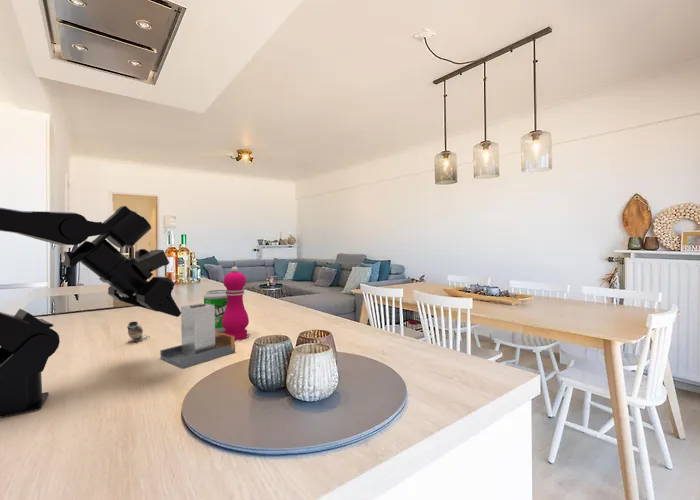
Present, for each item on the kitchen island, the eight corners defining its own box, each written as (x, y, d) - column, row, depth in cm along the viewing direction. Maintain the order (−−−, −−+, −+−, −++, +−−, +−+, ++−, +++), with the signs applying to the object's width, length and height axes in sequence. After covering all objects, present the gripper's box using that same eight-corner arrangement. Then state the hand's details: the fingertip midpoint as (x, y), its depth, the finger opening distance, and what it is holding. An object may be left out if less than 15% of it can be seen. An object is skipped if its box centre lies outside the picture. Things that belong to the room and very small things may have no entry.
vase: (143, 344, 92) (140, 322, 91) (120, 347, 91) (118, 324, 91) (151, 338, 97) (148, 317, 97) (130, 340, 96) (127, 319, 96)
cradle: (182, 368, 74) (182, 349, 74) (160, 358, 80) (160, 341, 80) (235, 352, 85) (234, 336, 85) (211, 344, 91) (211, 329, 91)
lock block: (195, 357, 79) (194, 308, 78) (181, 352, 82) (180, 305, 82) (215, 351, 83) (214, 304, 82) (201, 347, 86) (200, 302, 86)
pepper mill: (216, 338, 96) (215, 267, 96) (236, 332, 103) (234, 265, 102) (235, 342, 93) (234, 267, 92) (254, 335, 99) (253, 265, 99)
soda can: (203, 329, 107) (203, 290, 106) (229, 326, 110) (229, 288, 109) (205, 335, 100) (204, 293, 99) (232, 332, 103) (231, 292, 103)
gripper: (163, 236, 67) (216, 287, 76) (123, 236, 78) (173, 281, 87) (117, 280, 61) (180, 330, 70) (81, 274, 72) (139, 318, 81)
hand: (168, 312), depth 77 cm, fingers open, 9 cm apart
